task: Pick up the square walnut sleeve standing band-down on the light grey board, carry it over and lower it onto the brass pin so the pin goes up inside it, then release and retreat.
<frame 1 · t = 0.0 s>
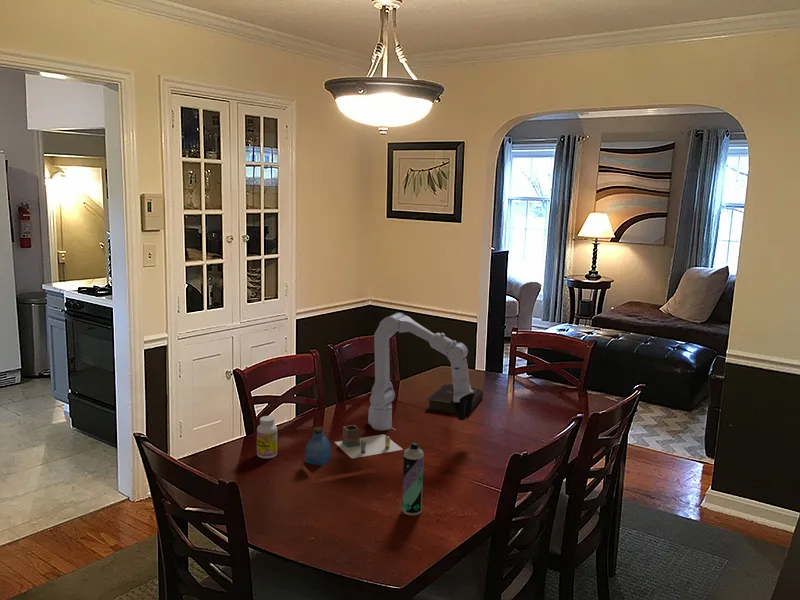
hand: (465, 416, 236), 11 cm above the table, tool pointing down, fingers open, 7 cm apart
supplement bottle: (267, 455, 224), on the table
perfume bottle: (317, 464, 219), on the table
brass pin: (387, 451, 230), resting on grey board
walnut sleeve: (350, 444, 232), point 1 cm above the table, touching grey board
spray can: (411, 511, 190), on the table
steel pin: (363, 455, 226), resting on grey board
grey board: (368, 449, 232), on the table
diary: (454, 405, 282), on the table
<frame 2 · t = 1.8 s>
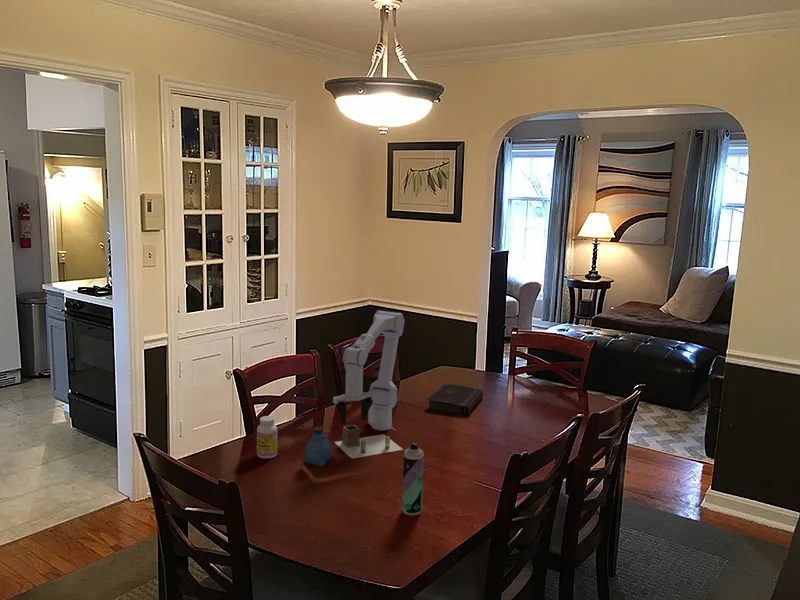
hand: (353, 421, 230), 10 cm above the table, tool pointing down, fingers open, 7 cm apart
nothing on the table moved.
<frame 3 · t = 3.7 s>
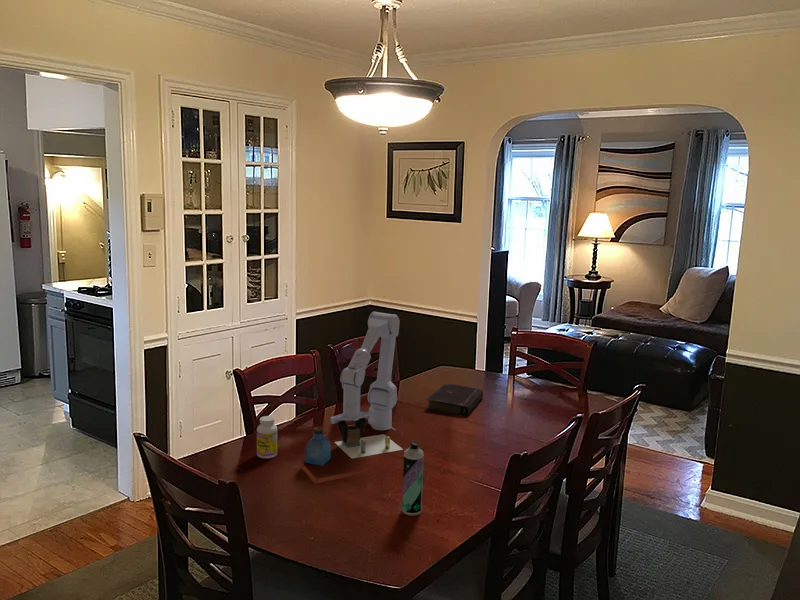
hand: (351, 440, 232), 3 cm above the table, tool pointing down, fingers closed on walnut sleeve, 4 cm apart
walnut sleeve: (350, 444, 232), point 1 cm above the table, touching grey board, gripper
everything else where it was.
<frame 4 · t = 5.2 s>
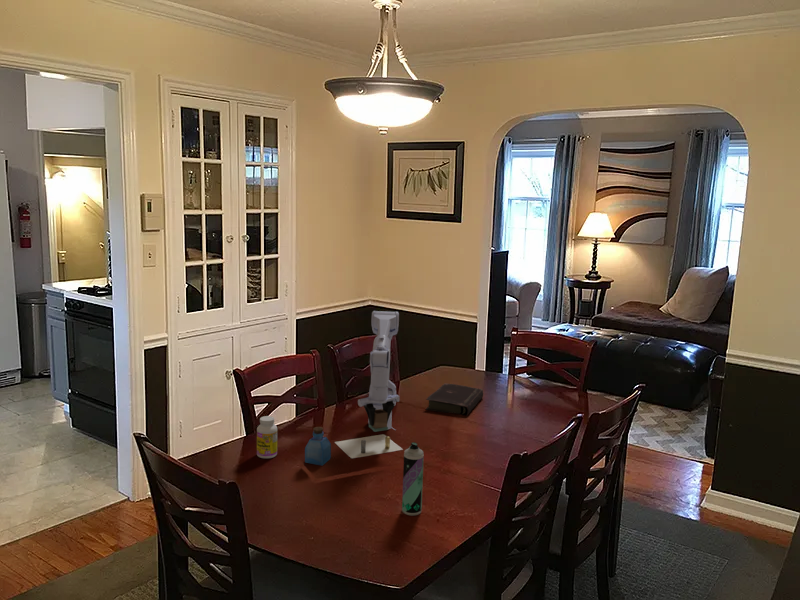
hand: (378, 423, 229), 10 cm above the table, tool pointing down, fingers closed on walnut sleeve, 4 cm apart
walnut sleeve: (378, 428, 229), point 8 cm above the table, touching gripper
everything else where it was.
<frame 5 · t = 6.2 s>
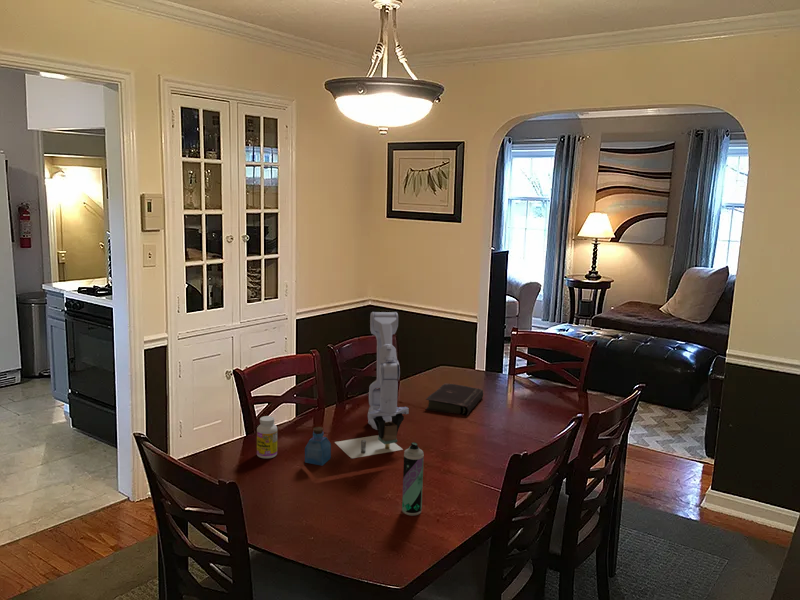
hand: (387, 436, 229), 6 cm above the table, tool pointing down, fingers closed on walnut sleeve, 4 cm apart
walnut sleeve: (387, 440, 229), point 4 cm above the table, touching gripper
everything else where it was.
when the fingers open (4 cm above the table, at t = 7.0 s): walnut sleeve stays where it is, resting on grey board.
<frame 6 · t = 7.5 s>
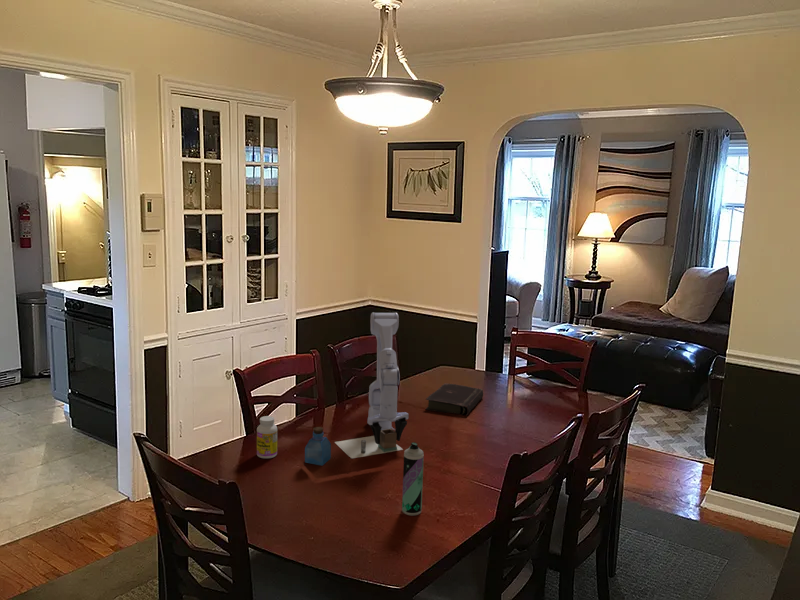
hand: (387, 441, 230), 4 cm above the table, tool pointing down, fingers open, 7 cm apart
walnut sleeve: (387, 448, 230), point 1 cm above the table, touching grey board
everything else where it was.
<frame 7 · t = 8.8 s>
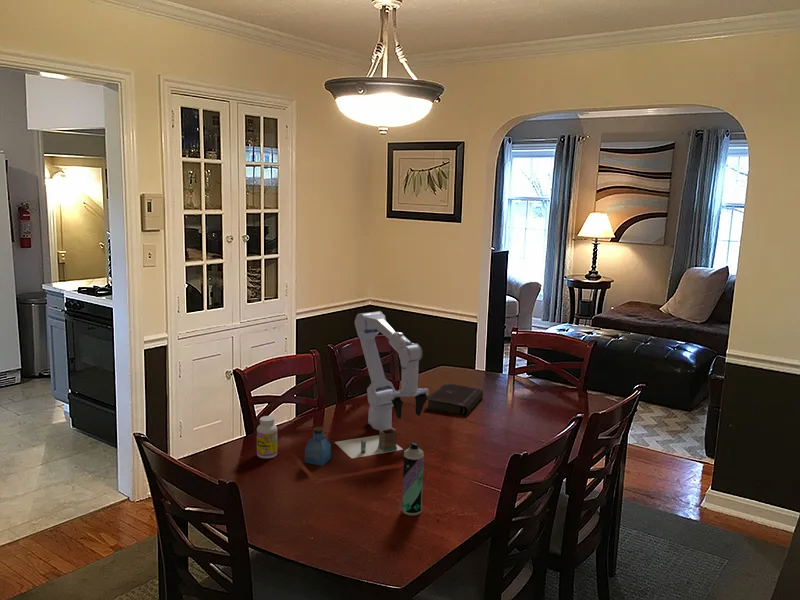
hand: (408, 416, 236), 10 cm above the table, tool pointing down, fingers open, 7 cm apart
nothing on the table moved.
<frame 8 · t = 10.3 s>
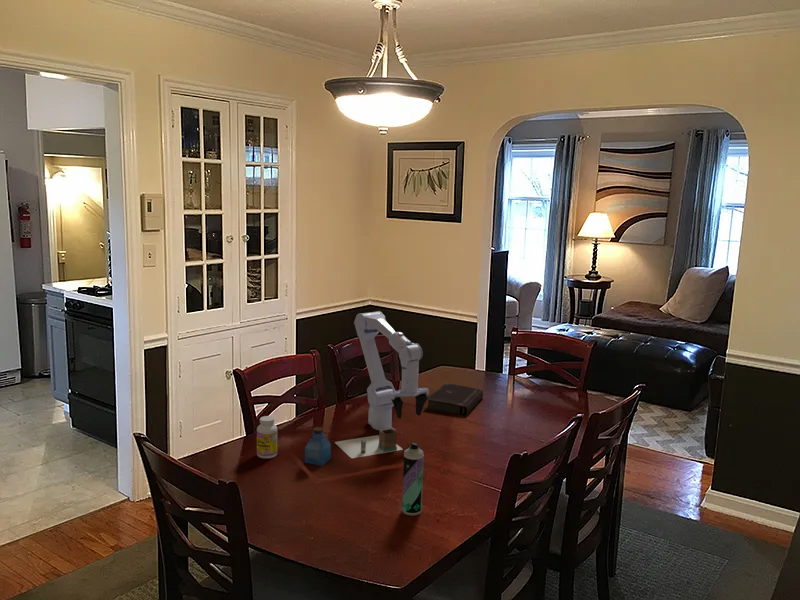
hand: (408, 416, 237), 10 cm above the table, tool pointing down, fingers open, 7 cm apart
nothing on the table moved.
at the end: walnut sleeve 0.0 cm off-centre on the brass pin, point 1.2 cm above the brass pin's base; walnut sleeve tilted 0°; the gripper is holding nothing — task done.
